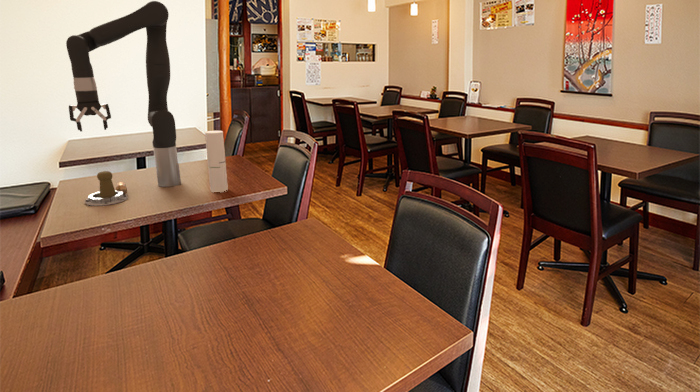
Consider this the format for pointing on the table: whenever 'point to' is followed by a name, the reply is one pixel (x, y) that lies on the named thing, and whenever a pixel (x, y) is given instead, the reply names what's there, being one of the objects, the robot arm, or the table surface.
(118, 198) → the flange seat
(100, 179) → the cork
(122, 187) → the pipe stub
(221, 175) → the beige rectangular tower
